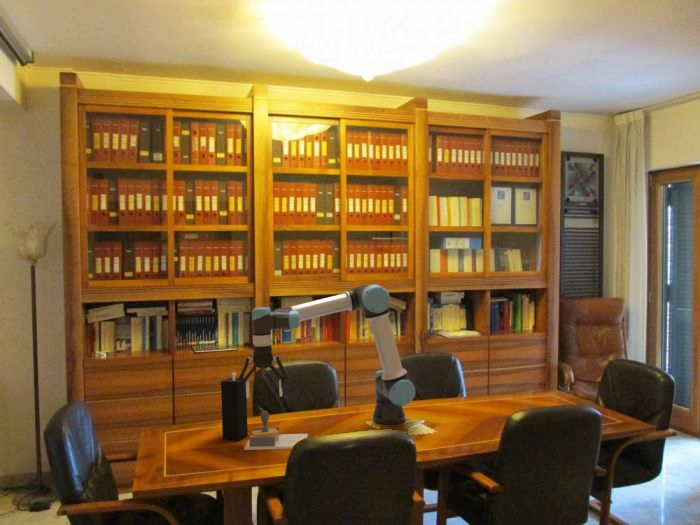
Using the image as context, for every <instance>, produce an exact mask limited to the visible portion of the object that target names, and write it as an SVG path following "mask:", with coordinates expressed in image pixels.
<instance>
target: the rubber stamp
mask: <svg viewBox="0 0 700 525" xmlns="http://www.w3.org/2000/svg"><path fill="white" fill-rule="evenodd" d="M269 414H270V413H269V412H268V411H267V410H263V411H261V413H260V420H261V423H262V425H263V426H262V427H264V428H263V429H262V430H257V431H255V430H252V431H251V435H252V437H267V436H275V440H279V434H280V431H279V432H278V430H276V429H275V428H270V429H267V427H268V426H267V424H268V421H269V419H270V415H269Z"/></svg>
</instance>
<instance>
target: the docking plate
mask: <svg viewBox="0 0 700 525" xmlns="http://www.w3.org/2000/svg"><path fill="white" fill-rule="evenodd" d="M266 427H267V429H270V428H275V429H276V430H278V432H279V440H275V436H267V437H252V434H251V435H250V437H249V439H248V440H247V442H246V443H245V446H244V447H243V448H244V449H243V450H244V451H256V450H257V451H260V450H262V451H263V450H264V451H265V450H290V449H291V450H293V449H292V447H293V446H294V445H295V444H296V443H297V442H298V441H300V440H302V439H304V438H307V437H309V433H292V434H291V433H290V434H289V433H288V434H287V433H284V434H280V427H279V426H266ZM263 428H264V426H260V427H259V426H258V427H257V426H256V427H255V430H254V431H257V430H262V429H263ZM307 439H308V438H307Z"/></svg>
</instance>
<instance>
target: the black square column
mask: <svg viewBox="0 0 700 525" xmlns="http://www.w3.org/2000/svg"><path fill="white" fill-rule="evenodd" d="M236 375H237V372H234V371H233V372H231V377H230V378H226V379H224V380H222V381H220V388H221V389H220V390H221V392H220V393H221V394H220V395H221V396H220V397H221V422H222V424H221V426H222V428H221V429H222V430H221V431H222V432H221V433H222V441H223V440H224V441H232V442H240V441H241V440H243V439H244V438H246V437H248V436H249V435H248V430H249V429H248V398H246V390H244V386H243V381H241V380H239V377H236Z"/></svg>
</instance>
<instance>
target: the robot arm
mask: <svg viewBox="0 0 700 525" xmlns="http://www.w3.org/2000/svg"><path fill="white" fill-rule="evenodd" d="M390 303H391V296H390V294H389V291H388V290H387V289H386V288H385V287H383V286H381V285H380V284H379V285H378V284H362V285H359V286H357V287H354V288H351V289H347V290H344V292H343V293H340V294H337V295H332V296H328V297H324V298H320V299H316V300H311V301H307V302H304V303H300V304H295V305H291V306H287V307H284V308H283V307H279V308H276V309H275V310H273V311H271V308H270V307H268V306H267V307H266V306H265V307H263V306H262V307H255V308H253V309H252V310H251V313H252V314H251V315H252V316H251V320H252V321H251V322H252V323H251V324H252V343H253V348H252V350H253V357H250V356H247V357H246V358H245V364H244V366H243V368H242V370H241V373H240V375H239V377H238V378H239V380H241V381H243V386H244V390H246V398H247V399H249V398H250V380H249V378H250V377H251V375H252V374H253V373H254V372H255V370H256V369H257V368H259V369H267V368H268V367H269V369H270V370H271V371H272V372H273V373H274V374H275V375H276V377H278V379H279V381H278V386H279V390H278V392H279V397H283V389H284V388H285V386H286V385H285V380H287V379H288V378H289V374H288V372H287V370H286V368H285V367H284V365H283V363H282V361H281V356H280V355H276V356H273V346H272V331H274V330H287V329H288V330H292V329H298V328H299V327H300V324H301V322H303V321H307V320H312V319H316V318H319V317H323V316H328V315H331V314H334V313H335V314H336V313H339V312H344V311H349V312H351V311H357V310H359V311H362V313H363V315H364V316H363V317H364V319H365V320H366V321H368V322H369V326H370V328H371V333H372V336H373V340H374V343H375V346H376V351H377V353H378V358H379V361H380V364H381V368H382V369H381V370H377V371H376V372H375V376H374V381H375V406H374V409H373V413H372V422H374V421H375V422H374V423H376V422H379V423H378V424H380V423H383V424H382V425H396V424H397V425H398V424H402V423H404V422H405V421H406V412H405V410H404V408H403V407H404V406H407V405H409V404H410V403H411V402H412V401H413V400H414V398H415V396H416V387H415V385H414V384H413V382H412V381H411V380H410V377H409V374H408V371H407V369H405V368H403V366H402V362H401V359H400V354H399V351H398V346H397V343H396V340H395V339H396V338H395V336H394V332H393V328H392V325H391V322H390V318H389V315H390V314H391V307H390ZM273 361H274V362H276V364H277V366H278V367H279V369H280V371H279V370H278V369H277V367H276V366H275V365H274V363H273ZM251 362H253V363H254V365H253V367H252V368H251V369H250V370H249V372H248V373H247V369H248V367H249V366H250V364H251ZM246 373H247V375H246ZM245 375H246V376H245ZM403 421H404V422H403Z"/></svg>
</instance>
